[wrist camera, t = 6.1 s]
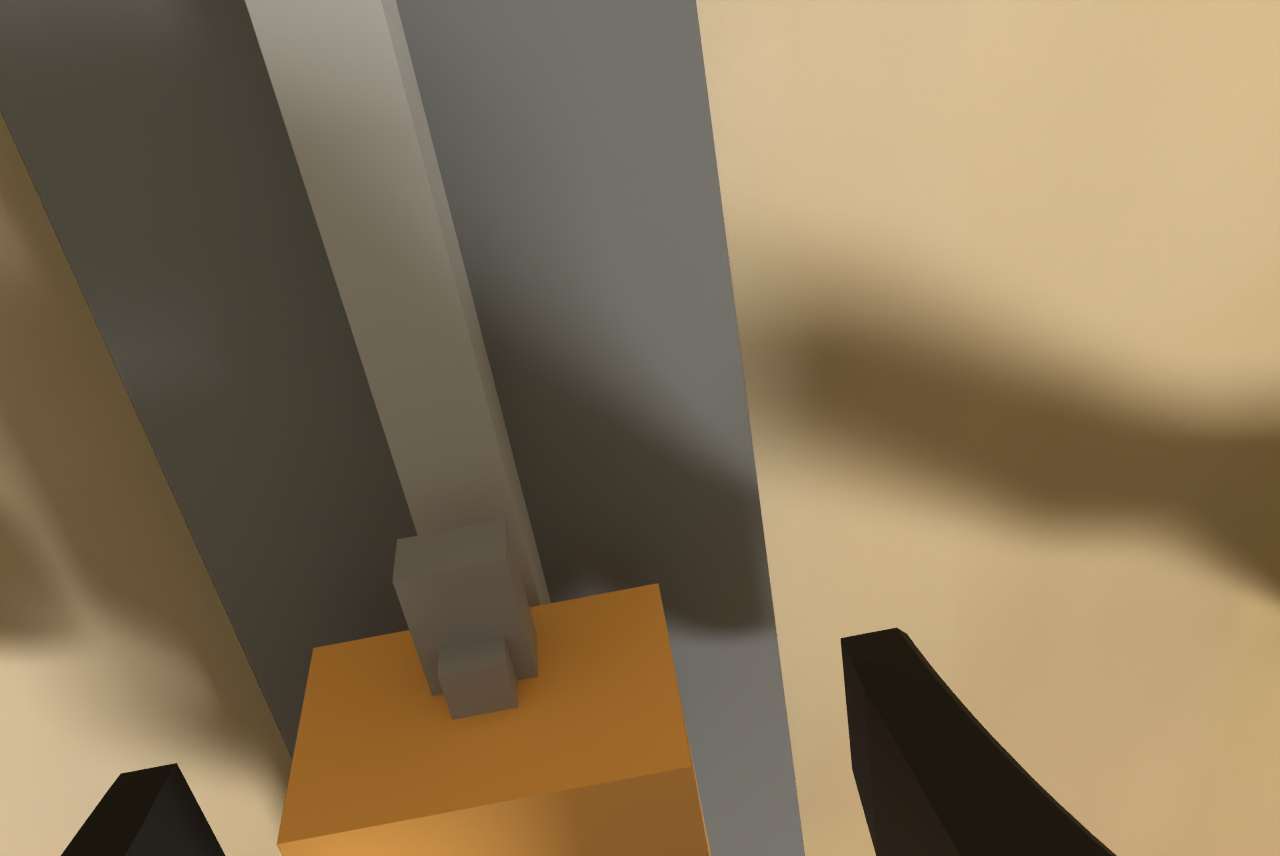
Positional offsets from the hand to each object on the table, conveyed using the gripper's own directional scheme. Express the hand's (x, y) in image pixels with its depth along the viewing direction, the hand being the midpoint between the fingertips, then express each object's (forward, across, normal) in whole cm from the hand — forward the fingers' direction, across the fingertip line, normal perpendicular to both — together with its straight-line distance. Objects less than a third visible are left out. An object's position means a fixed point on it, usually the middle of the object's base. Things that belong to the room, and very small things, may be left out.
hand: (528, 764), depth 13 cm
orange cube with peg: (0, 0, -1) cm, 1 cm away
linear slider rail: (+3, 0, -2) cm, 3 cm away
